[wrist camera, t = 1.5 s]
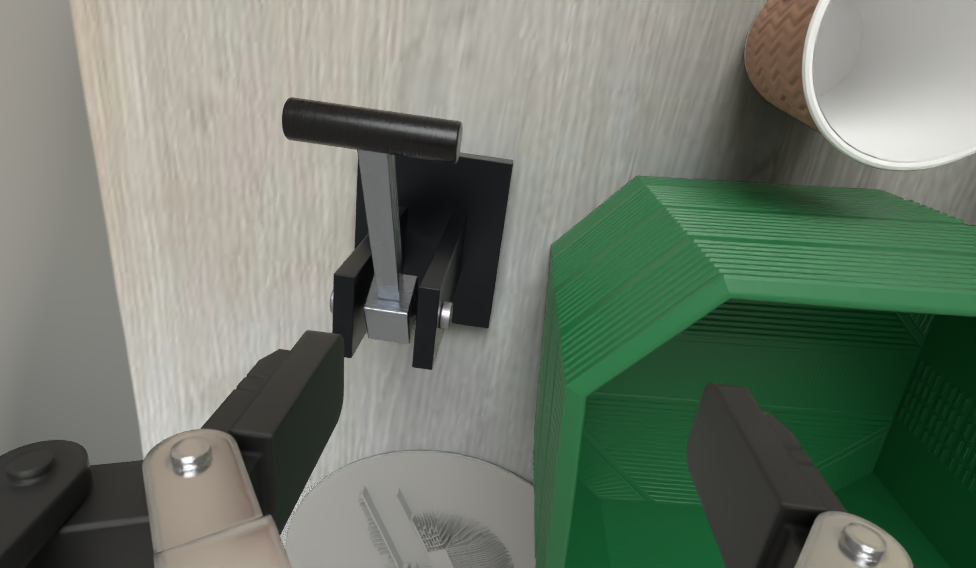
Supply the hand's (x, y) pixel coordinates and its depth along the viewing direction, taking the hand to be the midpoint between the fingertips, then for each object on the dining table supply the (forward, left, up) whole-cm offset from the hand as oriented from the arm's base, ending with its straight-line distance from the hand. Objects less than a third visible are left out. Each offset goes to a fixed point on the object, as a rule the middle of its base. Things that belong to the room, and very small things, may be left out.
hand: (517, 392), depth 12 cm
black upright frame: (+6, -6, -27) cm, 28 cm away
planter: (+12, +16, -27) cm, 34 cm away
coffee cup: (-9, +15, -27) cm, 32 cm away
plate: (+39, -2, -27) cm, 47 cm away
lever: (+1, -6, -13) cm, 14 cm away
